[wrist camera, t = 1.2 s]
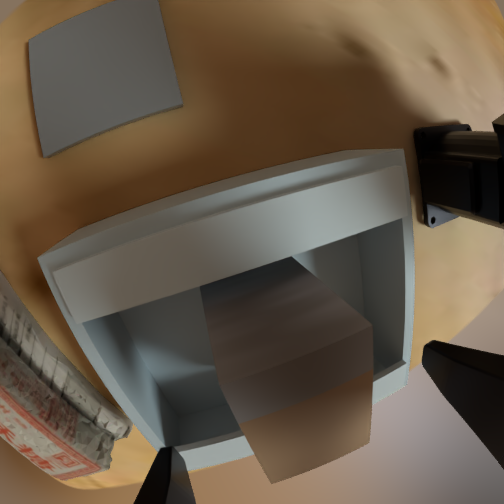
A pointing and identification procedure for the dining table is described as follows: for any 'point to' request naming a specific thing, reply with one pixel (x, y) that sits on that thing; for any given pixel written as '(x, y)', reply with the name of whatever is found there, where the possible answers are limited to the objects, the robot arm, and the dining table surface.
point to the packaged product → (50, 400)
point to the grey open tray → (227, 264)
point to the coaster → (101, 73)
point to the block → (291, 365)
